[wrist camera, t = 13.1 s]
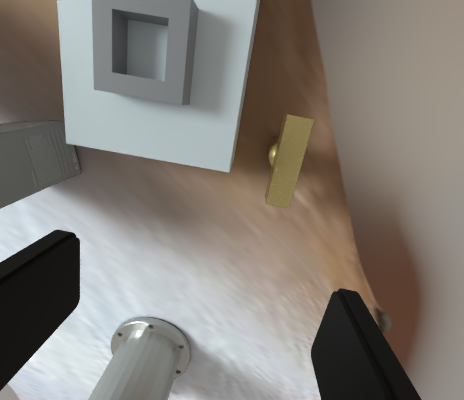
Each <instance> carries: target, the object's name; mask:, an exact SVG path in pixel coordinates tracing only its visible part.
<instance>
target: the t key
mask: <svg viewBox="0 0 464 400" xmlns="http://www.w3.org/2000/svg"><path fill="white" fill-rule="evenodd" d="M313 122H314V119H310V118H305V117H300V116H295V115H289V114H284V117H283V121H282V126H281V130H280V134H279V137H278V138H275V139H273V140H272V141H271V142H270V144H269V145H268V148H267V154H268V158H269V161H270V165H271V167H272V168H271V172H270V176H269V181H268V185H267V189H266V193H265V201H266V204H267V205H272V206H277V207H283V208H288V209H289V208H290V205H291V201H292V198H293V194H294V190H295V187H296V183H297V180H298V176H299V172H300V169H301V165H302V161H303V158H304V154H305V151H306V147H307V143H308V140H309V136H310V132H311V129H312V125H313Z"/></svg>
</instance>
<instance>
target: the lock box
mask: <svg viewBox="0 0 464 400" xmlns="http://www.w3.org/2000/svg"><path fill="white" fill-rule="evenodd" d="M57 5H58V21H59V37H60V53H61V69H62V85H63V101H64V117H65V133H66V143H67V144H72V145H78V146H84V147H89V148H95V149H100V150H106V151H112V152H117V153H123V154H128V155H134V156H139V157H145V158H151V159H156V160H162V161H167V162H173V163H179V164H184V165H190V166H195V167H201V168H207V169H212V170H218V171H223V172H229V171H230V169H231V166H232V164H233V161H234V157H235V151H236V145H237V139H238V133H239V127H240V121H241V115H242V109H243V103H244V97H245V91H246V85H247V79H248V72H249V66H250V60H251V54H252V48H253V42H254V36H255V30H256V24H257V18H258V12H259V6H260V0H57Z"/></svg>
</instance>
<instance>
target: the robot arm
mask: <svg viewBox="0 0 464 400" xmlns="http://www.w3.org/2000/svg"><path fill="white" fill-rule="evenodd" d="M79 300H80V240H79V239H78V238H76V235H75V234H74V233H72V232H67V231H62V230H55V231H53V232H51V233H50V234H48V235H46V236H45V237H43V238H41V239H39V240H38V241H36V242H34V243H33V244H31V245H29V246H28V247H26V248H24V249H22V250H21V251H19V252H17V253H16V254H14V255H12V256H11V257H9V258H7V259H6V260H4V261H2V262H0V391H1V390H2V389H3V387H4V386H5V385H6V384H7V383H8V382H9V381H10V380H11V379H12V378H13V376H14V375H15V374H16V373H17V372H18V371H19V370H20V369H21V368H22V367H23V365H24V364H25V363H26V362H27V361H28V360H29V359H30V358H31V357H32V356H33V354H34V353H35V352H36V351H37V350H38V349H39V348H40V347H41V346H42V345H43V343H44V342H45V341H46V340H47V339H48V338H49V337H50V336H51V335H52V334H53V332H54V331H55V330H56V329H57V328H58V327H59V326H60V325H61V324H62V323H63V322H64V320H65V319H66V318H67V317H68V316H69V315H70V314H71V313H72V312H73V311H74V309H75V308H76V307H77V305H78V303H79ZM111 351H112V354H113V357H112V359H111V361H110V362H109V364H108V366H107V368H106V369H105V371H104V373H103V374H102V376H101V378H100V380H99V381H98V383H97V385H96V387H95V388H94V390H93V392H92V394H91V395H90V397H89V399H88V400H168V396H169V393H170V390H171V387H172V383H173V380H174V379H175V378H177V377H179V376H180V375H182V374H183V373H184V372H185V370H186V369H187V367H188V365H189V361H190V356H191V350H190V346H189V343H188V341H187V339H186V338H185V336H184V335H183V334H182V333H181V332H180V331H179V330H178V329H177V328H175V327H174V326H172V325H171V324H169V323H167V322H164V321H162V320H159V319H155V318H147V317H141V318H134V319H130V320H128V321H126V322H124V323H123V324H122V325H120V326H119V327H118V329H117V330H116V332H115V333H114V335H113V337H112V340H111ZM311 359H312V363H313V367H314V371H315V375H316V379H317V384H318V388H319V392H320V396H321V400H421V398H420V396H419V395H418V393H417V391H416V390H415V388H414V386H413V385H412V383H411V381H410V379H409V378H408V376H407V375H406V373H405V371H404V369H403V368H402V366H401V364H400V363H399V361H398V359H397V357H396V356H395V354H394V352H393V351H392V349H391V347H390V346H389V344H388V343H387V341H386V339H385V337H384V336H383V334H382V332H381V330H380V329H379V327H378V325H377V324H376V322H375V320H374V319H373V317H372V315H371V314H370V312H369V310H368V308H367V307H366V305H365V303H364V302H363V300H362V298H361V297H360V295H359V294H358V292H356V291H351V290H346V289H339V290H338V291H337V292H336V291H334V292H333V293H332V295H331V298H330V300H329V303H328V306H327V308H326V311H325V314H324V316H323V319H322V322H321V324H320V327H319V329H318V332H317V335H316V337H315V340H314V343H313V345H312V349H311Z"/></svg>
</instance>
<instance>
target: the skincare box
mask: <svg viewBox="0 0 464 400" xmlns="http://www.w3.org/2000/svg"><path fill="white" fill-rule="evenodd" d="M79 173H81V170H80V166H79V162H78V158H77V154H76V150H75V146H74V145H72V144H67V143H66V133H65V121H27V122H14V123H5V124H0V209H1V208H3V207H5V206H7V205H10V204H12V203H14V202H16V201H18V200H21V199H23V198H25V197H27V196H30V195H32V194H34V193H36V192H39V191H41V190H43V189H45V188H47V187H50V186H52V185H54V184H56V183H59V182H61V181H63V180H65V179H68V178H70V177H72V176H75V175H77V174H79Z"/></svg>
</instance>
